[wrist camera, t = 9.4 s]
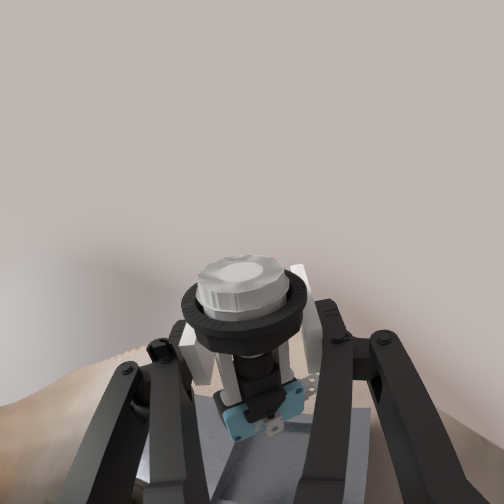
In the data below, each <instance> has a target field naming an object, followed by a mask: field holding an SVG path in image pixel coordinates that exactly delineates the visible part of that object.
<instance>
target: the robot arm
mask: <svg viewBox="0 0 504 504" xmlns="http://www.w3.org/2000/svg"><path fill="white" fill-rule="evenodd" d="M291 272H292V273H294V274H296V275H298V276H299V277H300V278H301V279H302V280H303V281H304V282H305V284H306V287H307V304H306V306H305V308H304V310H303V320H302V324H301V327H300V329H301V334H302V340H303V345H304V350H305V356H306V361H307V367H308V372H309V374H312V373H317V372H320V375H319V382H318V389H317V396H316V402H315V409H314V415H313V421H312V427H311V432H310V438H309V443H308V448H307V453H306V458H305V463H304V468H303V472H302V476H301V478H300V479H299V482H298V485H297V488H296V493H295V497H294V501H293V504H342V503H343V497H344V490H345V478H346V469H347V460H348V450H349V438H350V425H351V408H352V381H353V380H366V381H367V384H368V387H369V390H370V392H371V395H372V398H373V401H374V404H375V407H376V410H377V413H378V416H379V419H380V423H381V426H382V429H383V432H384V435H385V438H386V442H387V445H388V448H389V452H390V455H391V458H392V462H393V465H394V469H395V472H396V476H397V480H398V483H399V487H400V491H401V495H402V498H403V502H404V504H490V503H489V502H488V501H487V500H486V499H485V498H484V497H483V496H482V495H481V494H480V493H479V492H478V491H477V490H476V489H475V488H474V487H473V486H472V485H471V483H470V482H469V481H468V480H467V479H466V477H465V475H464V472H463V470H462V467H461V465H460V462H459V460H458V457H457V455H456V452H455V450H454V448H453V445H452V443H451V441H450V438H449V436H448V434H447V432H446V429H445V427H444V425H443V423H442V421H441V419H440V417H439V414H438V412H437V410H436V408H435V406H434V404H433V402H432V400H431V398H430V396H429V394H428V392H427V390H426V388H425V386H424V384H423V382H422V380H421V378H420V376H419V374H418V373H417V371H416V369H415V367H414V365H413V363H412V361H411V359H410V357H409V356H408V354H407V352H406V350H405V348H404V347H403V345H402V343H401V342H400V339H399V338H398V336H397V335H396V334H395V333H394V332H392V331H389V330H379V331H376V332H374V333H373V334H372V335H371V337H370V339H366V338H356V337H353V336H352V334H351V333H350V332H348V331H347V330H346V327H345V325H344V322H343V320H342V317H341V315H340V313H339V310H338V307H337V305H336V303H335V302H334V301H332V300H331V299H325V300H319V301H314V300H313V296H312V293H311V289H310V286H309V283H308V280H307V277H306V273H305V270H304V267H303V264H298V265H291ZM146 350H147V352H148V354H149V356H150V358H151V360H152V363H151V364H149V365H145V366H141V367H139V366H138V364H137V363H136V362H134V361H127V362H124V363H122V364H120V365H119V366H118V367H117V368H116V370H115V372H114V374H113V376H112V378H111V380H110V382H109V384H108V386H107V388H106V390H105V392H104V394H103V396H102V399H101V401H100V403H99V405H98V407H97V409H96V411H95V413H94V416H93V418H92V420H91V422H90V424H89V427H88V429H87V431H86V433H85V436H84V438H83V440H82V443H81V445H80V447H79V450H78V452H77V454H76V457H75V459H74V462H73V464H72V466H71V469H70V471H69V474H68V476H67V479H66V482H65V484H64V487H63V489H62V492H61V495H60V496H59V497H58V499H57V500H56V501H55V502H54V503H53V504H129V502H130V498H131V494H132V491H133V487H134V483H135V479H136V476H137V472H138V468H139V465H140V461H141V457H142V454H143V450H144V447H145V443H146V440H147V437H148V433H149V467H150V483H149V484H148V485H146V486H145V487H144V489H143V504H211V502H210V497H209V492H208V487H207V481H206V475H205V469H204V463H203V457H202V451H201V444H200V437H199V430H198V422H197V415H196V406H195V398H194V391H193V388H192V386H191V383H192V379H193V380H194V383H195V385H196V386H197V385H210V383H211V377H212V371H213V365H214V360H215V354H214V352H211V351H209V350H208V349H207V348H205V347H204V346H203V345H201V344H200V343H199V342H198V341H197V338H196V335H195V331H194V329H193V328H192V327H191V326H190V325H189V324H188V323H187V322H186V320H179V321H177V323H176V324H175V325H174V326H173V328H172V330H171V333H170V335H169V338H159V339H156V340H154V341H152V342H150V344H149V345H148V346H147V348H146Z"/></svg>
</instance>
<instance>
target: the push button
mask: <svg viewBox="0 0 504 504" xmlns="http://www.w3.org/2000/svg"><path fill="white" fill-rule="evenodd" d="M306 304H307V287H306V284H305V282H304V281H303V280H302V279H301V278H300V277H299V276H298V275H296V274H294V273H292V272H290V271H288V270H284V267H283V265H282V263H281V262H280V261H279V260H277V259H275V258H273V257H269V256H265V255H239V256H233V257H228V258H224V259H221V260H219V261H216V262H214V263H211V264H209V265H208V266H207V267H205V268H204V269H203V270H201V271H200V273H199V274H198V278H197V283H196V284H194V285H193V286H192V287H191V288H190V289H189V290H188V291H187V292H186V293H185V295H184V296H183V298H182V302H181V308H182V312H183V316H184V318H185V320H186V322H187V323H188V324H189V325H190V326H191V327H192V328H193V329H194V331H195V335H196V338H197V341H198V342H199V343H200V344H201V345H203V346H204V347H205V348H207V349H208V350H209V351H211V352H214V354H215V357H216V361H217V365H218V369H219V372H220V376H221V380H222V383H223V387H224V389H223V390H220V391H217V392H215V393H214V395H213V398H214V401H215V404H216V407H217V410H218V413H219V416H220V418H221V420H222V422H223V424H224V426H225V428H226V430H227V431H228V433H229V435H230V437H231V439H232V440H233V442H239V441H242V440H244V439H245V438H248V437H250V436H253V435H255V434H257V433H260V432H262V431H264V430H266V436H272V435H274V434H276V433H278V432H281V431H282V430H283V429H284V424H283V422H284V421H286V420H288V419H290V418H292V417H295V416H297V415H299V414H300V413H302V412H303V410H304V401H306V400H308V399H309V398H308V397H309V396H311V395H313V394H315V393H317V389H318V385H317V383H318V382H319V376H318V375H317V374H316V373H314V374H312V375H310V376H308V377H306V378H303V379H301V380H300V379H296V378H295V377H294V372H293V370H292V369H291V368H290V361H289V345H288V339H290V338H291V337H292V336H294V335H295V334H296V333H297V332H298V331H299V330H300V327H301V324H302V320H303V310H304V308H305V306H306ZM231 355H233V359H234V361H233V360H232V356H231ZM310 378H314V379H315V381H314V382H310V381H309V379H310ZM311 387H313V388H315V390H314V391H309V388H311ZM276 426H278V428H277V429H276V430H275V431H271V430H272V428H274V427H276Z"/></svg>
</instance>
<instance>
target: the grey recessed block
mask: <svg viewBox="0 0 504 504" xmlns="http://www.w3.org/2000/svg"><path fill="white" fill-rule="evenodd" d="M194 398H195V406H196V415H197V422H198V430H199V437H200V444H201V451H202V457H203V463H204V469H205V475H206V481H207V487H208V492H209V497H210V502H211V504H293V501H294V497H295V493H296V488H297V485H298V482H299V479H300V478H301V476H302V472H303V468H304V463H305V458H306V453H307V448H308V443H309V438H310V432H311V427H312V421H313V415H308V414H299V415H297V416H295V417H292V418H290V419H288V420H286V421H284V422H283V424H284V429H283V430H282V431H281V432H278V433H276V434H274V435H272V436H266V430H264V431H262V432H260V433H257V434H255V435H253V436H250V437H248V438H245V439H244V440H242V441H239V442H233V440H232V439H231V437H230V435H229V433H228V431H227V430H226V428H225V426H224V424H223V422H222V420H221V418H220V416H219V413H218V410H217V407H216V404H215V401H214V398H213V397H207V396H202V395H196V394H194ZM370 410H371V408H351V425H350V438H349V450H348V460H347V469H346V478H345V490H344V497H343V503H342V504H364V498H365V489H366V480H367V469H368V457H369V440H370ZM277 428H278V426H276V427H274V428H272V430H271V431H275V430H276V429H277ZM149 483H150V467H149V433H148V437H147V440H146V443H145V447H144V450H143V454H142V457H141V461H140V465H139V468H138V472H137V476H136V479H135V483H134V484H136V485H138V486H140V487H143V488H144V487H145V486H146V485H148V484H149Z"/></svg>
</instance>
